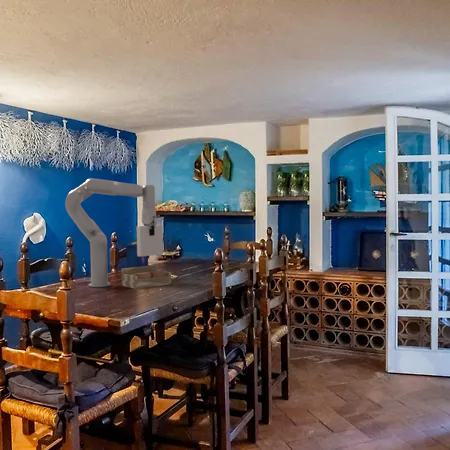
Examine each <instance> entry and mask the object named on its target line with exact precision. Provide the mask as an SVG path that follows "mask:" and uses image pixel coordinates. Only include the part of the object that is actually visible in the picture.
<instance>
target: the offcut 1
mask: <svg viewBox="0 0 450 450" xmlns="http://www.w3.org/2000/svg"><path fill="white" fill-rule="evenodd" d="M135 276H137V277H138V280H139V279H147V278H151V275H150V273H148V272H144V273H135Z"/></svg>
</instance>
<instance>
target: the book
mask: <svg viewBox="0 0 450 450" xmlns="http://www.w3.org/2000/svg"><path fill="white" fill-rule="evenodd" d="M125 245H126V247H125V249H126V268H134V267H143V266H149V256H137V240H133V241H131V242H129V243H127V244H125Z"/></svg>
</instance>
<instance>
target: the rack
mask: <svg viewBox="0 0 450 450" xmlns="http://www.w3.org/2000/svg"><path fill="white" fill-rule="evenodd" d="M157 267H158V266H157V265H156V264H154V265H148V266H143V267H134V268H127V267H126V268H125V267H124V268H121V270H120V271H121V272H120V275H121V276H120V277H121V279H120V280H121V281H120V282H121V286H122V287H127V288H130V289H135V290H138V289H146V288H153V287H160V286H161V287H162V286H167V285H171V284H172V272H171V271H165V270H163V271H164V272H165V276H163V277H155V278H147V279H139V280H138V277H137V276H135V273H144V272H148V273H150V272H153V271H160V269H157Z"/></svg>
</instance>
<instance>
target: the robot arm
mask: <svg viewBox="0 0 450 450" xmlns="http://www.w3.org/2000/svg"><path fill="white" fill-rule="evenodd" d="M155 190H156V188H155V185H153V184H145V185H140V184H135V183H127V182H121V181H120V182H119V181H114V180H109V179H100V178H93V177H92V178H88V179H86V180H85V182H83V183H82V184H80V185H79V186H78V187H76V188H75V189H72V190H70V191H69V192H68V194H67V195H66V198H65V202H64V205H65V210H66V213H67V214H68V215H69V217H70V219H72V220H73V221H72V222H74V224H75V225H76V226H77V228H78V230H79V231H80V233H82V234H83V235H84V237H85V238H87V240H88V241H89V245H90V248H89V249H90V282H89V283H88V286H89V287H91V288H101V287H102V288H103V287H109V286H111V282H109V281H108V239H107V236H106V234H105V233H104V232H103V231H102V230H101V229H100V227H99V225H98V224H97V223H96V222H95V221H94V219H92V218H91V217H89V215H88V213H86V211H85V210H84V208H83V207H82V205H81V203H82V202H84V201H85V200H86V199H88V198H90V197H91V196H92V195H94V194H100V195H108V196H126V197H133V198H139V197H140V198H141V197H142V210H141V211H142V212H141V223H142V226H150V229H149V233H150V236H152V235H154V229H155V226H156V225H158V224H157V210H156V191H155ZM151 225H152V226H151Z"/></svg>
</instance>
